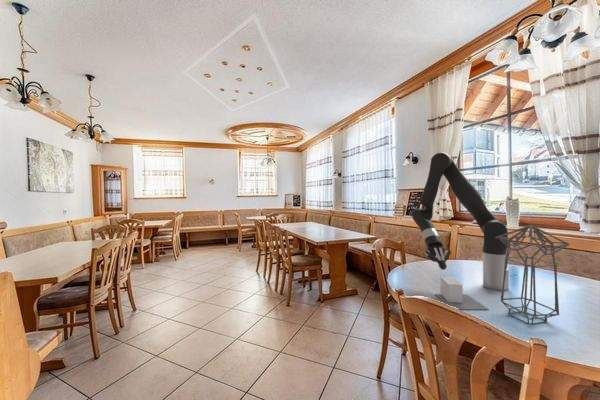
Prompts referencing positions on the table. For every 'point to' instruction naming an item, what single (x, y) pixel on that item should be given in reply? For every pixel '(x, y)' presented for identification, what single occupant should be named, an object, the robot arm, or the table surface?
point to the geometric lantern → (539, 234)
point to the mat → (464, 303)
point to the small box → (451, 289)
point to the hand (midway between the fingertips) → (443, 268)
